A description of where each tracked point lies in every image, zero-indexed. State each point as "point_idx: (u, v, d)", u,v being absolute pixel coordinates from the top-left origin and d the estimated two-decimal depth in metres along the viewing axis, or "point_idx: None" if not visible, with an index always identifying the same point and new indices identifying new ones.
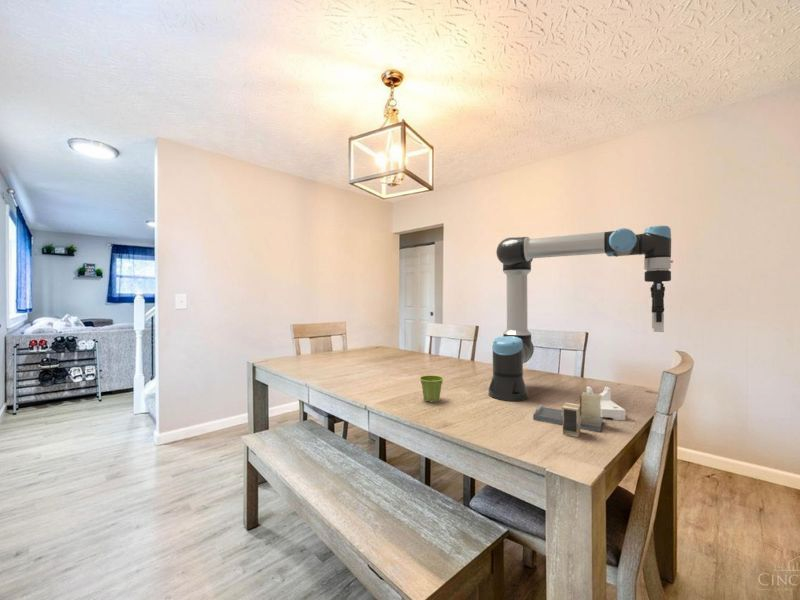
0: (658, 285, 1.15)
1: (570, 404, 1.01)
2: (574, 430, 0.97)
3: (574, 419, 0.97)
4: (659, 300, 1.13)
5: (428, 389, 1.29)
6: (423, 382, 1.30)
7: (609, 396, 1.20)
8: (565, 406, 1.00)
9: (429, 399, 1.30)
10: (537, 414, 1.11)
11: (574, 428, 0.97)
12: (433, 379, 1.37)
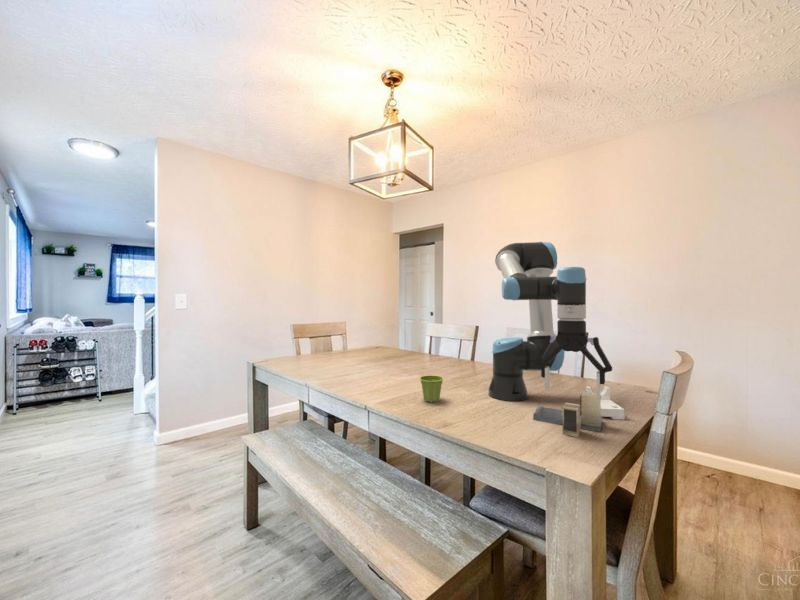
0: None
1: (570, 404, 1.01)
2: (574, 430, 0.97)
3: (574, 419, 0.97)
4: (540, 353, 1.05)
5: (428, 389, 1.29)
6: (423, 382, 1.30)
7: (608, 396, 1.21)
8: (565, 406, 1.00)
9: (429, 399, 1.30)
10: (537, 414, 1.11)
11: (574, 428, 0.97)
12: (433, 379, 1.37)
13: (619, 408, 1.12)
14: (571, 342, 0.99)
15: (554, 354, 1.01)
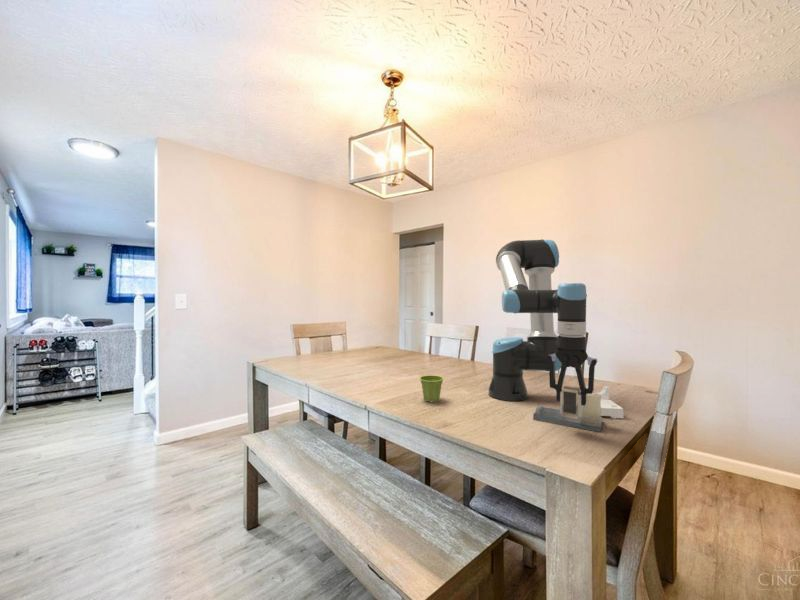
0: None
1: (569, 387, 1.02)
2: (573, 412, 0.98)
3: (574, 401, 0.98)
4: None
5: (428, 389, 1.29)
6: (423, 382, 1.30)
7: (608, 395, 1.22)
8: (565, 388, 1.00)
9: (429, 399, 1.30)
10: (537, 414, 1.11)
11: (574, 410, 0.98)
12: (433, 379, 1.37)
13: (618, 407, 1.12)
14: (571, 356, 0.99)
15: (562, 374, 1.01)
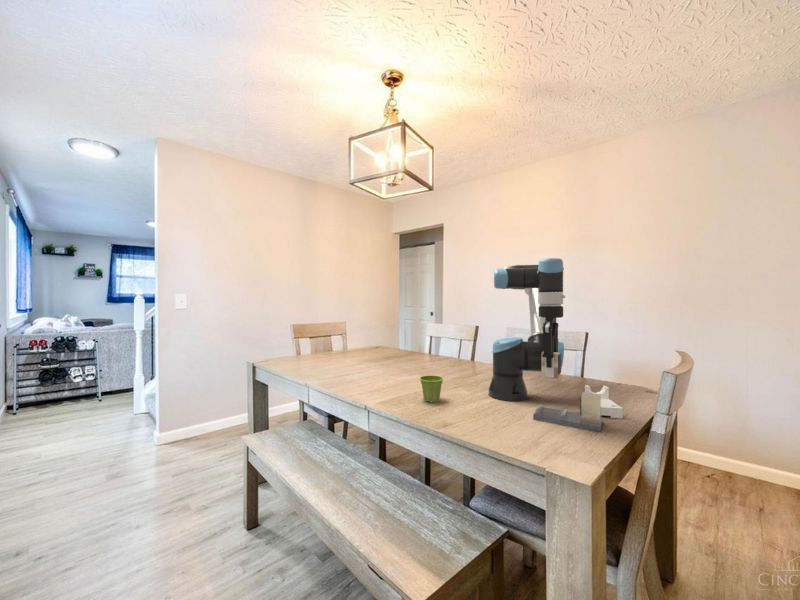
0: (546, 329, 1.07)
1: None
2: (560, 371, 1.12)
3: (560, 361, 1.12)
4: (547, 345, 1.08)
5: (428, 389, 1.29)
6: (423, 382, 1.30)
7: (607, 395, 1.22)
8: (554, 353, 1.10)
9: (429, 399, 1.30)
10: (537, 414, 1.11)
11: (560, 369, 1.12)
12: (433, 379, 1.37)
13: (617, 407, 1.13)
14: None
15: (553, 341, 1.10)
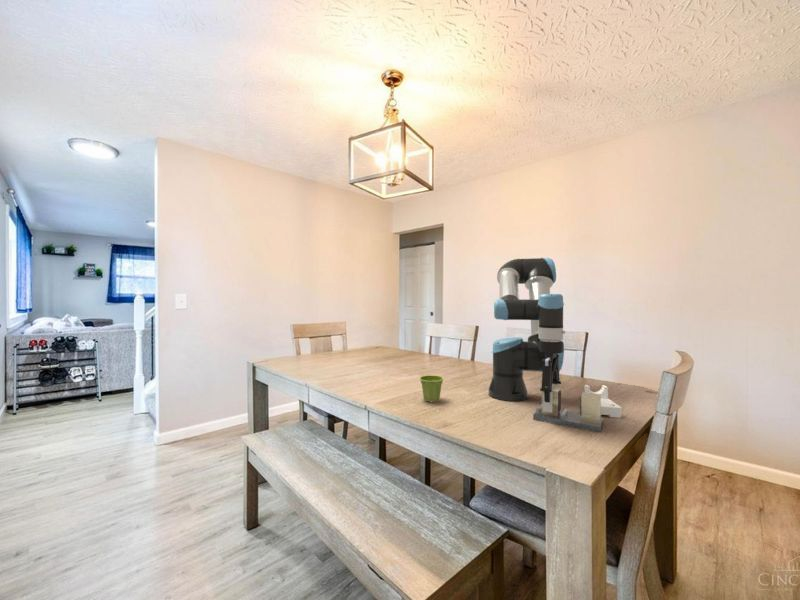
0: (546, 362, 1.07)
1: None
2: (560, 407, 1.12)
3: (560, 398, 1.12)
4: (546, 379, 1.06)
5: (428, 389, 1.29)
6: (423, 382, 1.30)
7: (606, 394, 1.23)
8: (554, 390, 1.11)
9: (429, 399, 1.30)
10: (537, 414, 1.11)
11: (560, 406, 1.12)
12: (433, 379, 1.37)
13: (616, 406, 1.13)
14: None
15: (552, 375, 1.09)
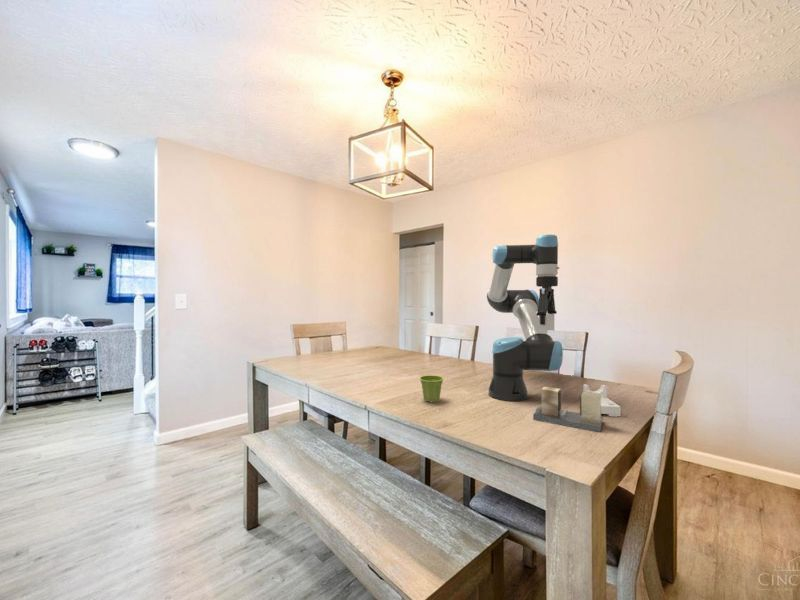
0: (542, 290, 1.23)
1: (547, 389, 1.13)
2: (560, 407, 1.12)
3: (560, 398, 1.12)
4: (542, 304, 1.22)
5: (428, 389, 1.29)
6: (423, 382, 1.30)
7: (605, 393, 1.24)
8: (554, 390, 1.11)
9: (429, 399, 1.30)
10: (537, 414, 1.11)
11: (560, 406, 1.12)
12: (433, 379, 1.37)
13: (615, 405, 1.14)
14: None
15: (547, 303, 1.25)
